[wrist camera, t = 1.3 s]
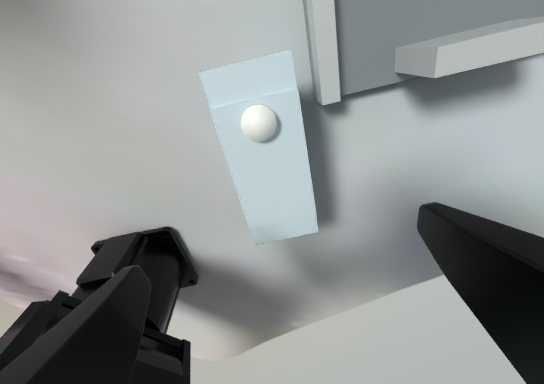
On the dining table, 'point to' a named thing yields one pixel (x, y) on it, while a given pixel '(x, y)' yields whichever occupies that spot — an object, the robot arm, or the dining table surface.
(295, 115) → the light blue knobbed block
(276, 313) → the dining table surface
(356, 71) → the mounting plate
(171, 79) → the dining table surface
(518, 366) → the robot arm
